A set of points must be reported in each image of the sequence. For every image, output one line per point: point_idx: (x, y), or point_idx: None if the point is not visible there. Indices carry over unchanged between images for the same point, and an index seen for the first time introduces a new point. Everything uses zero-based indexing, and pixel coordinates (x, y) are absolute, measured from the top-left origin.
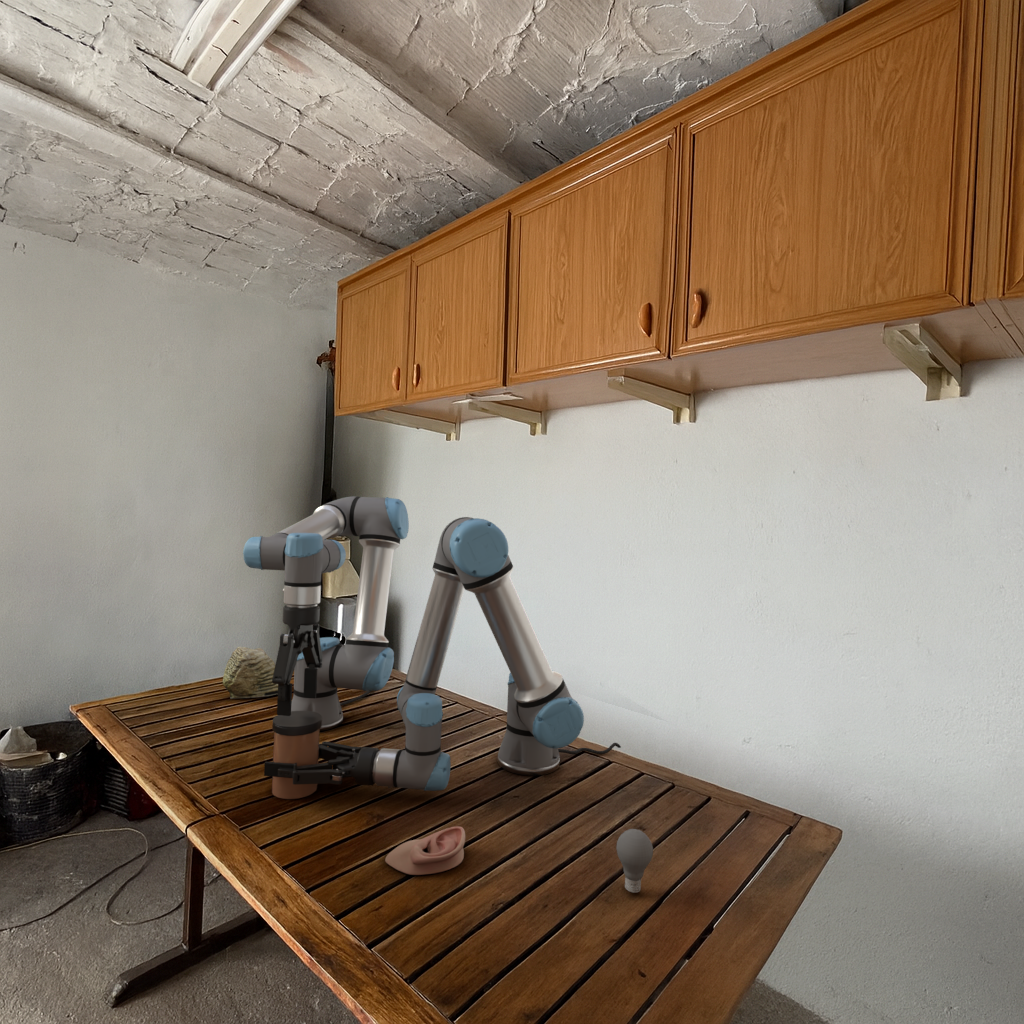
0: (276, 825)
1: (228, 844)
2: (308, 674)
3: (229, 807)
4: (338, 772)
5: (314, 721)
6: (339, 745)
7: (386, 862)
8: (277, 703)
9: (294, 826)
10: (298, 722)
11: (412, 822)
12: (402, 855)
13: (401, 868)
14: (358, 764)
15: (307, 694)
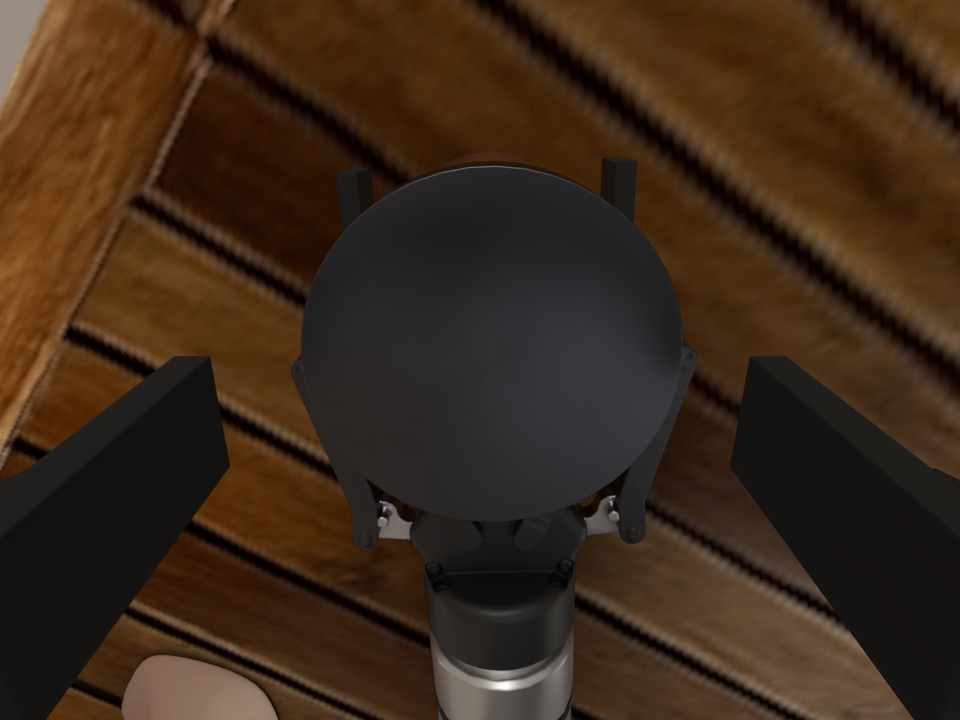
0: (208, 313)
1: (34, 215)
2: (903, 565)
3: (263, 50)
4: (355, 538)
5: (458, 499)
6: (651, 443)
7: (143, 661)
8: (109, 408)
9: (225, 373)
10: (407, 408)
11: (363, 663)
12: (148, 706)
13: (124, 699)
14: (429, 596)
15: (757, 412)
